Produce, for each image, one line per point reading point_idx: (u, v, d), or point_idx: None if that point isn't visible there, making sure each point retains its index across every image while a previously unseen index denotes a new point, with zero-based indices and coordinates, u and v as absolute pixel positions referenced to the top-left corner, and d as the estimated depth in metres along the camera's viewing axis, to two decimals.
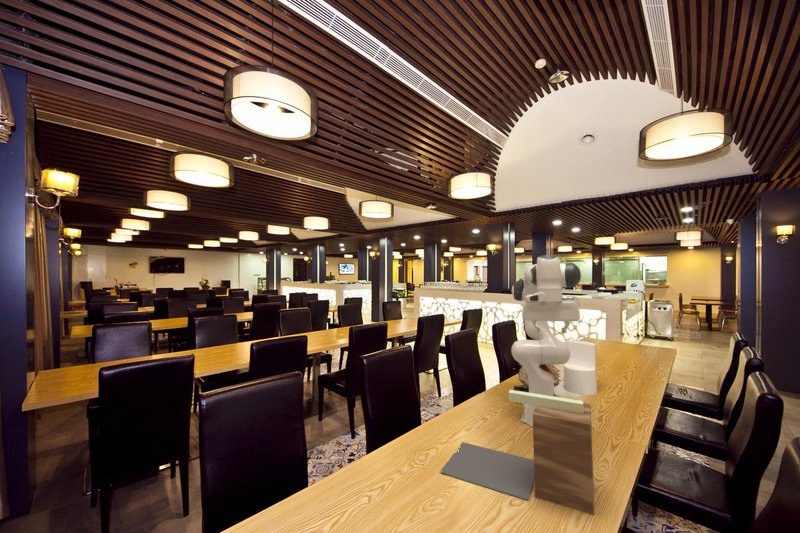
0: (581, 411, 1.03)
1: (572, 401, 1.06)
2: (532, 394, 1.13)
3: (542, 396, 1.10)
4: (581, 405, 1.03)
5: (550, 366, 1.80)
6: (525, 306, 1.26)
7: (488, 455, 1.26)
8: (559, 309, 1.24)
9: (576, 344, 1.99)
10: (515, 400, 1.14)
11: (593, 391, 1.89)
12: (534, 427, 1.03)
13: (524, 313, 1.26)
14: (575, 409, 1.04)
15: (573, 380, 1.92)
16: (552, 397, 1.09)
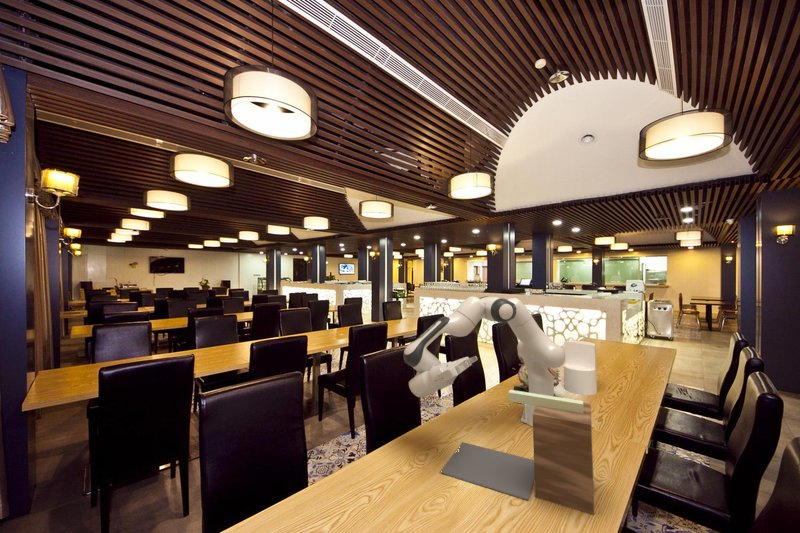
0: (581, 411, 1.03)
1: (572, 401, 1.06)
2: (532, 394, 1.13)
3: (542, 396, 1.10)
4: (581, 405, 1.03)
5: None
6: None
7: (488, 455, 1.26)
8: None
9: (576, 344, 1.99)
10: (515, 400, 1.14)
11: (593, 391, 1.89)
12: (534, 427, 1.03)
13: None
14: (575, 409, 1.04)
15: (573, 380, 1.92)
16: (552, 397, 1.09)
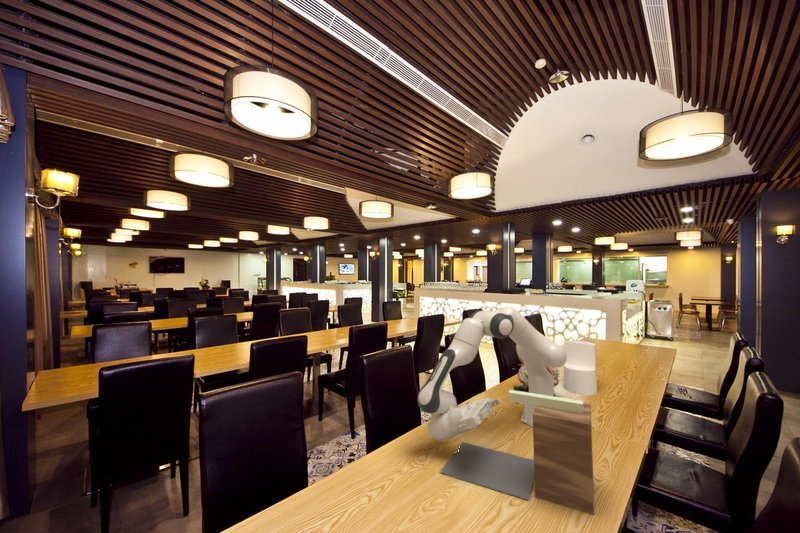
0: (581, 411, 1.03)
1: (572, 401, 1.06)
2: (532, 394, 1.13)
3: (542, 396, 1.10)
4: (581, 405, 1.03)
5: None
6: None
7: (488, 455, 1.26)
8: None
9: (576, 344, 1.99)
10: (515, 400, 1.14)
11: (593, 391, 1.89)
12: (534, 427, 1.03)
13: None
14: (575, 409, 1.04)
15: (573, 380, 1.92)
16: (552, 397, 1.09)
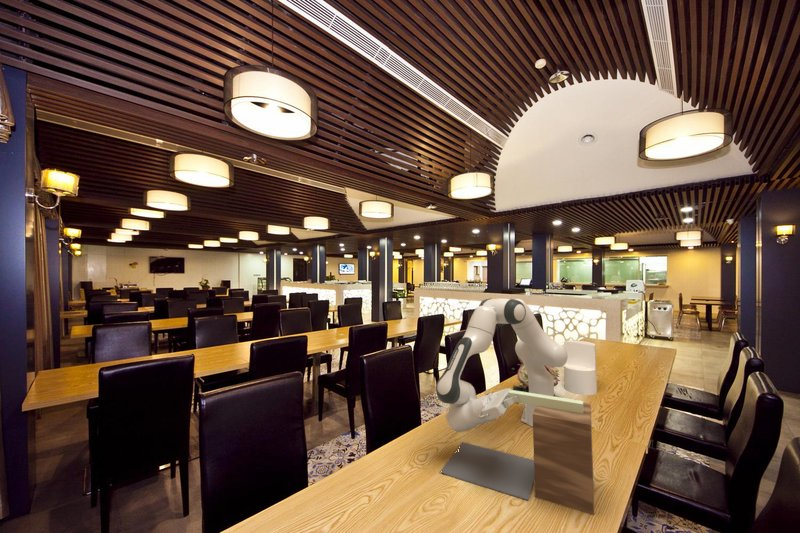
0: (581, 411, 1.03)
1: (572, 401, 1.06)
2: (532, 394, 1.12)
3: (542, 396, 1.10)
4: (581, 405, 1.03)
5: None
6: None
7: (488, 455, 1.26)
8: None
9: (576, 344, 1.99)
10: None
11: (593, 391, 1.89)
12: (534, 427, 1.03)
13: None
14: (575, 409, 1.04)
15: (573, 380, 1.92)
16: (552, 397, 1.09)
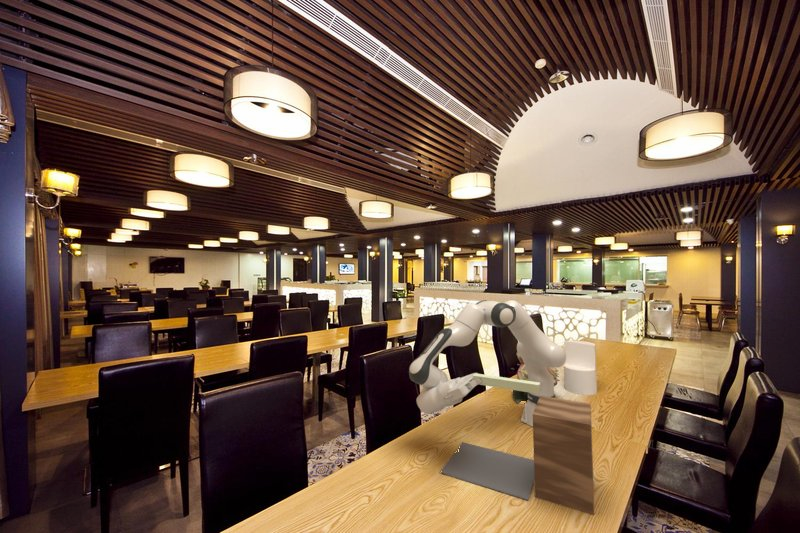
0: (537, 391, 1.10)
1: (530, 382, 1.12)
2: (494, 377, 1.19)
3: (503, 378, 1.17)
4: (537, 386, 1.10)
5: None
6: None
7: (488, 455, 1.26)
8: None
9: (576, 344, 1.99)
10: None
11: (593, 391, 1.89)
12: (534, 427, 1.03)
13: None
14: (532, 390, 1.11)
15: (573, 380, 1.92)
16: (512, 379, 1.16)
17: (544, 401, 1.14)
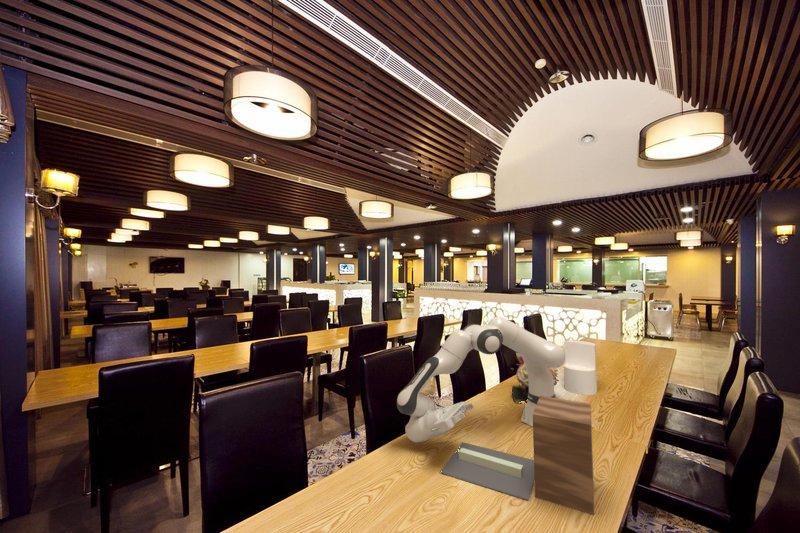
0: (519, 476, 1.12)
1: (513, 465, 1.14)
2: (479, 454, 1.22)
3: (487, 457, 1.20)
4: (519, 470, 1.12)
5: None
6: None
7: None
8: None
9: (576, 344, 1.99)
10: (464, 459, 1.23)
11: (593, 391, 1.89)
12: (534, 427, 1.03)
13: None
14: (514, 473, 1.13)
15: (573, 380, 1.92)
16: (496, 459, 1.18)
17: (544, 401, 1.14)
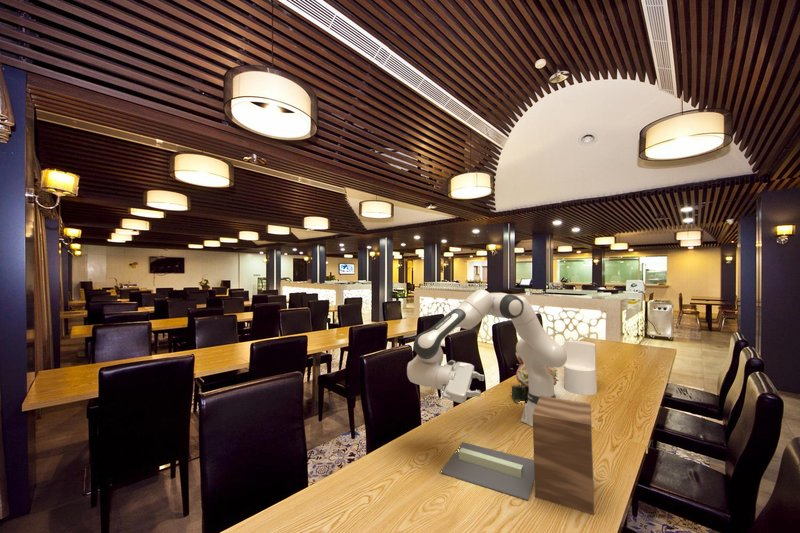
0: (519, 476, 1.12)
1: (513, 465, 1.14)
2: (479, 454, 1.22)
3: (487, 457, 1.20)
4: (519, 470, 1.12)
5: (547, 366, 1.81)
6: None
7: None
8: None
9: (576, 344, 1.99)
10: (464, 459, 1.23)
11: (593, 391, 1.89)
12: (534, 427, 1.03)
13: None
14: (514, 473, 1.13)
15: (573, 380, 1.92)
16: (496, 459, 1.18)
17: (544, 401, 1.14)
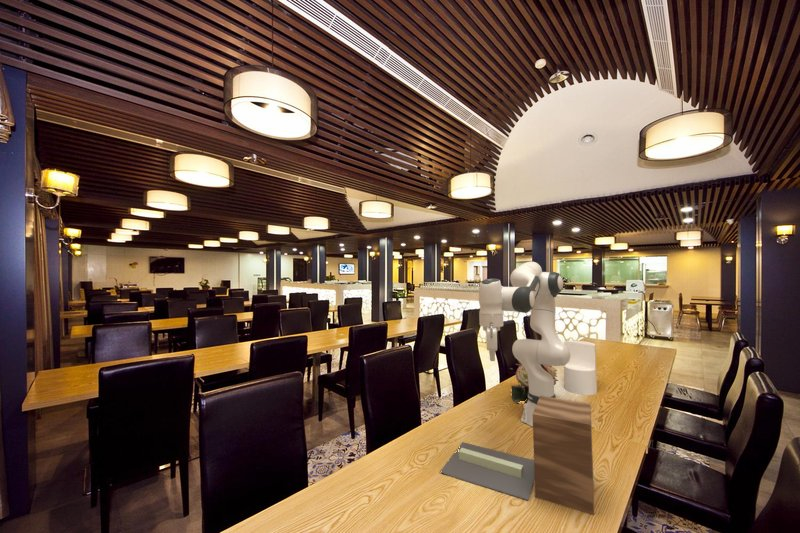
0: (519, 476, 1.12)
1: (513, 465, 1.14)
2: (479, 454, 1.22)
3: (487, 457, 1.20)
4: (519, 470, 1.12)
5: (547, 366, 1.81)
6: None
7: None
8: None
9: (576, 344, 1.99)
10: (464, 459, 1.23)
11: (593, 391, 1.89)
12: (534, 427, 1.03)
13: None
14: (514, 473, 1.13)
15: (573, 380, 1.92)
16: (496, 459, 1.18)
17: (544, 401, 1.14)
